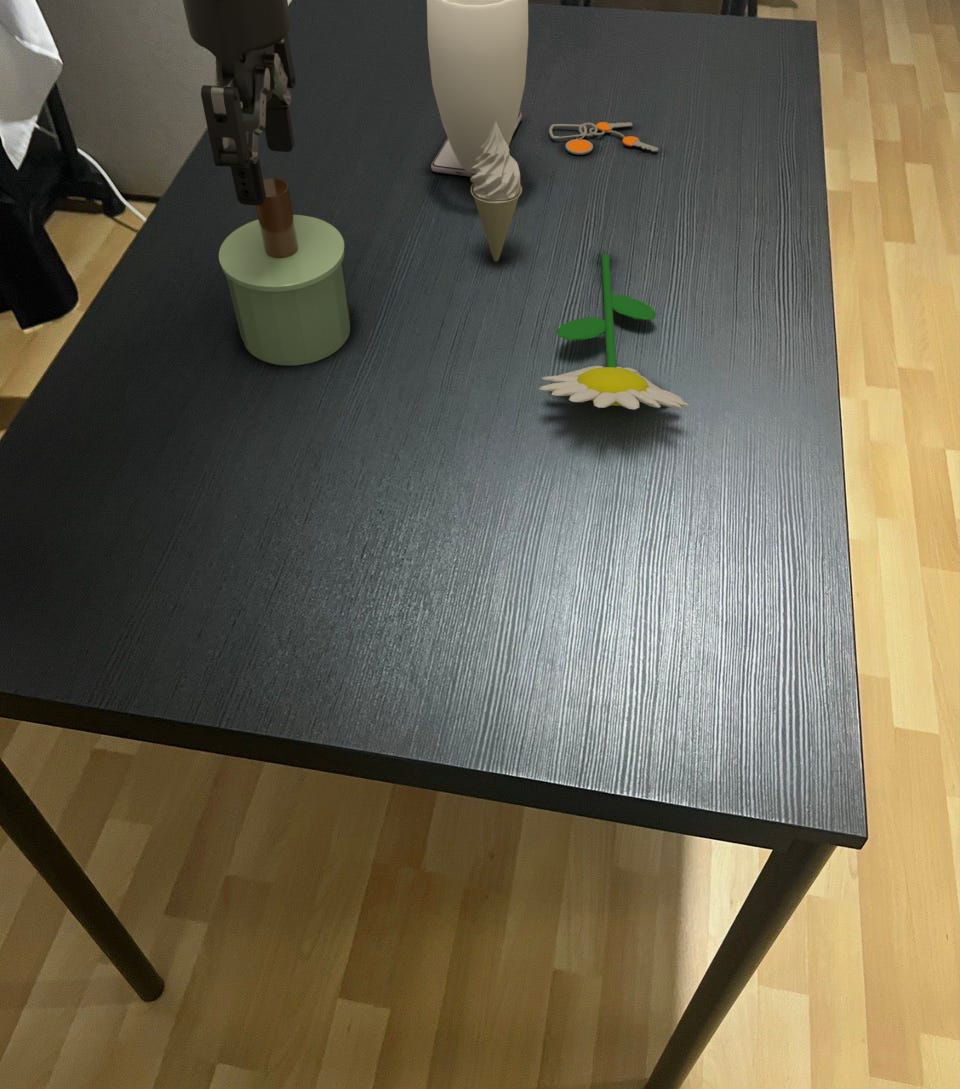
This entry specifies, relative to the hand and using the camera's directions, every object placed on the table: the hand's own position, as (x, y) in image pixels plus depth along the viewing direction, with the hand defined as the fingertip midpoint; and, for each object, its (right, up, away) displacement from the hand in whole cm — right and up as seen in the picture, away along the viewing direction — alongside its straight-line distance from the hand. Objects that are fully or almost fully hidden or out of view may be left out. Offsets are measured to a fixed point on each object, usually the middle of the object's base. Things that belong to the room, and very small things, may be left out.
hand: (267, 175), depth 84 cm
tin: (0, -10, +12) cm, 16 cm away
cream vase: (+18, +9, +29) cm, 35 cm away
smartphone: (+18, +16, +35) cm, 42 cm away
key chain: (+32, +17, +35) cm, 51 cm away
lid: (0, -5, +6) cm, 8 cm away
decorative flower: (+30, -13, +10) cm, 34 cm away
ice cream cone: (+19, -2, +20) cm, 28 cm away
